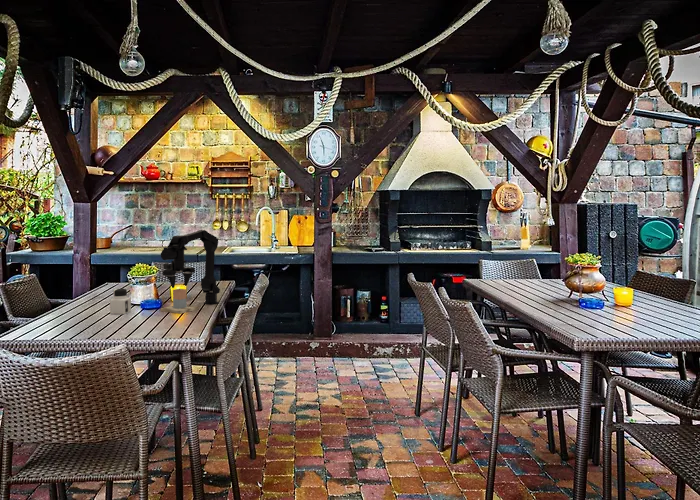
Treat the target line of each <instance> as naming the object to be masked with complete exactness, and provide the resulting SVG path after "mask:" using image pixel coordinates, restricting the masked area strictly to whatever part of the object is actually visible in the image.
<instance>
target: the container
mask: <svg viewBox="0 0 700 500" xmlns="http://www.w3.org/2000/svg"><path fill="white" fill-rule="evenodd" d="M131 299H132V298H131V297H128V292H127V289H126V288H115V289H114V290H113V298H111V299H110V300H109V313H110V314H111V315H125V314H129V313H130V312H131V311H132V309H131V308H132V303H131V302H132V300H131Z"/></svg>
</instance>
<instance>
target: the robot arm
mask: <svg viewBox="0 0 700 500" xmlns="http://www.w3.org/2000/svg"><path fill="white" fill-rule="evenodd" d="M195 240H200V242H202V243H203V248H204V250H205V267H204V276H203V278H201V279H200V287H201V289H202V293H203V294H205V298H204V299H205V301H204V302H203V304H206V305H214V304H220V301H218V294H220V291H221V289H220V288H219V286H218V285H217V280H216V278H215V255H216V254H215V252H216V250H217V249H218V246H219V238H218V237H217V236H215V235H213V234H212V233H210V232H208V231H207V230H206V229H199V230H197V231H193V232H191V233H187V234H184V235H182V234H181V235H180V234H179V235H173V236H171V239H170V242H169V244H168V245H167V246H165V247H163V249H162V251H161V252H160V258H161V259H162V260H164V261H171V263H168V262H166V263H163V271H162V276H164V277H166V278H167V279H168V280H169V284H170V286H171V288H172V289H175V286H176V279H177V275H176V274H181V273H182V276H183V283H184V287H187V286H188V284H189V281H190V279H191V278H192V276H193V275H194V273H196V268H195V267H194V266H192V267H190V266H185V263H187V260H185V251H187V250H188V248H187V247H186V246H187V245H188V244H189V243H190V242H193V241H195Z"/></svg>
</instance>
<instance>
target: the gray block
mask: <svg viewBox="0 0 700 500" xmlns="http://www.w3.org/2000/svg"><path fill="white" fill-rule="evenodd" d="M187 302H188V301H187V298H186V299H181V300H178V299H173V298H172V306H173V308H178V309H181V308H186V307H187Z"/></svg>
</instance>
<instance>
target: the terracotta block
mask: <svg viewBox="0 0 700 500" xmlns="http://www.w3.org/2000/svg"><path fill="white" fill-rule="evenodd" d="M173 299H178V300H181V299H186V300H187V289H186V288H174V289H172V300H173Z"/></svg>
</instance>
